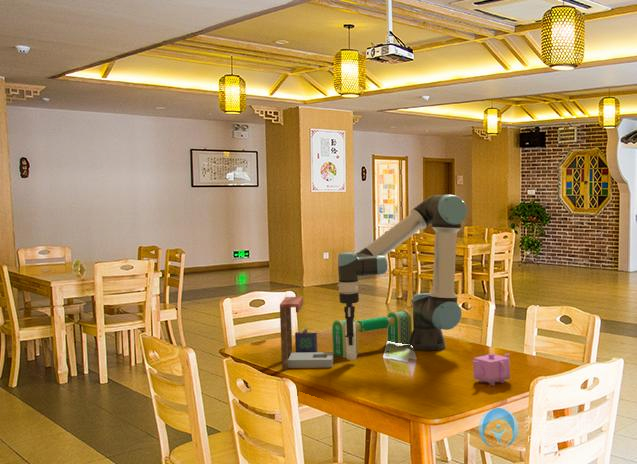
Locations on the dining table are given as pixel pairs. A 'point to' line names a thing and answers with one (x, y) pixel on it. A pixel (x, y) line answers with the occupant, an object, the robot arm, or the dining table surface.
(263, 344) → the dining table surface
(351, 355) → the peg
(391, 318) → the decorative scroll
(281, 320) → the curved red bench
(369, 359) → the dining table surface
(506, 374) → the pink square teapot
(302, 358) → the socket block
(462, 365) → the dining table surface
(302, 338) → the flask
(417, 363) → the dining table surface
